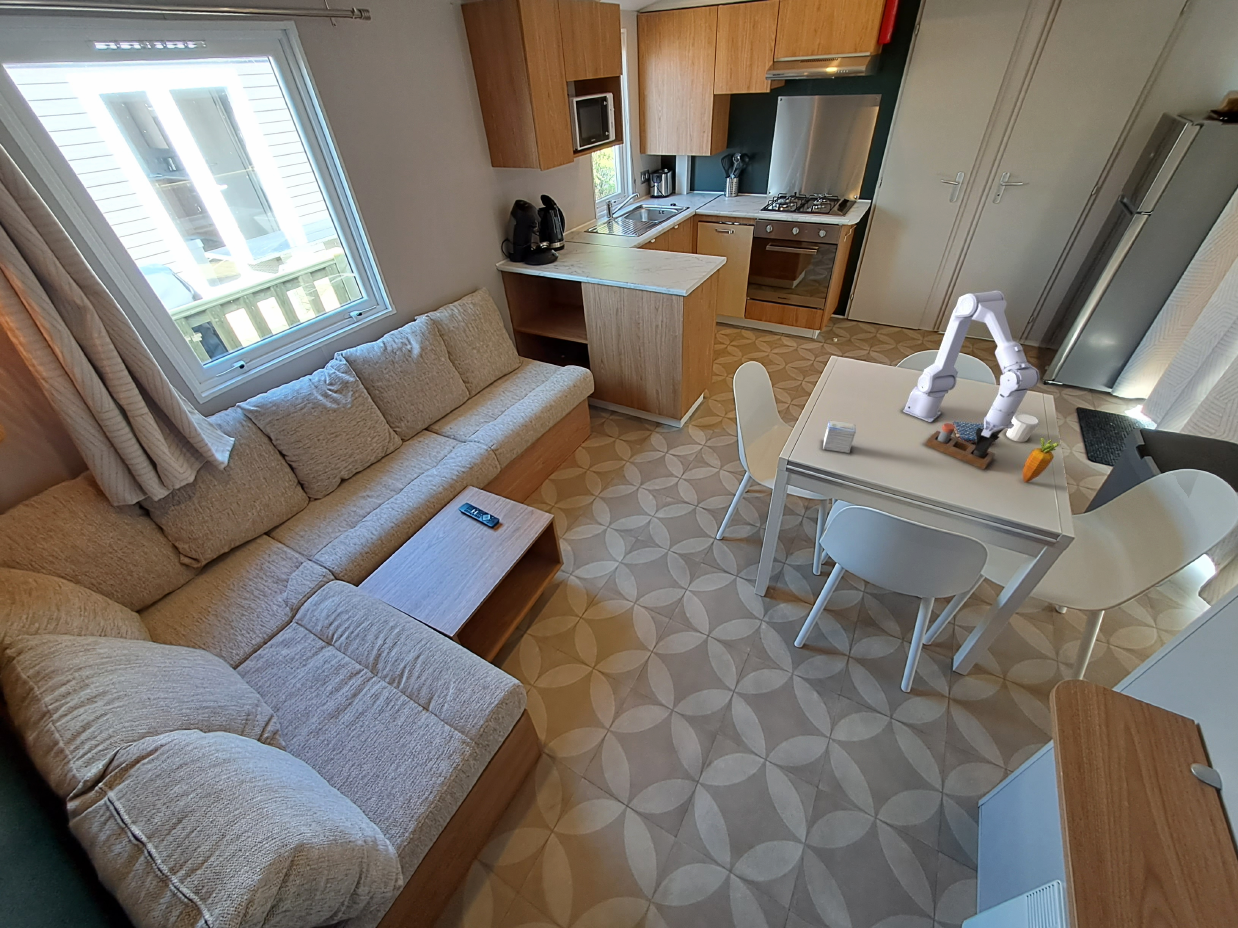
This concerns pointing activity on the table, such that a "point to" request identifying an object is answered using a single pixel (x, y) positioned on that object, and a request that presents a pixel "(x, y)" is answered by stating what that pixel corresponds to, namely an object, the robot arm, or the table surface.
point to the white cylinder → (1022, 427)
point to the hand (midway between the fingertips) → (983, 445)
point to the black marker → (981, 453)
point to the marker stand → (960, 450)
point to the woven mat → (967, 431)
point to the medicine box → (839, 436)
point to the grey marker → (946, 433)
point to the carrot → (1038, 461)
